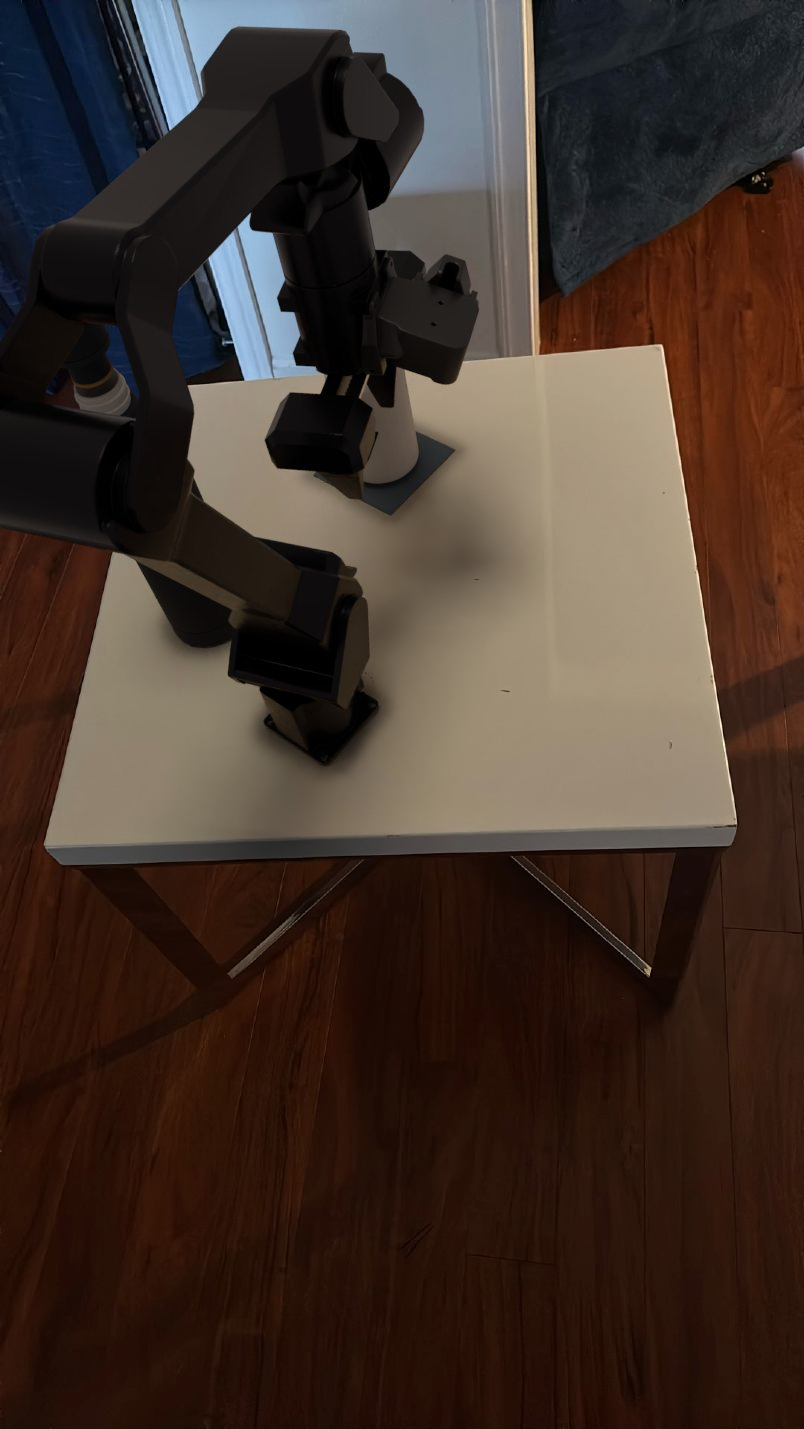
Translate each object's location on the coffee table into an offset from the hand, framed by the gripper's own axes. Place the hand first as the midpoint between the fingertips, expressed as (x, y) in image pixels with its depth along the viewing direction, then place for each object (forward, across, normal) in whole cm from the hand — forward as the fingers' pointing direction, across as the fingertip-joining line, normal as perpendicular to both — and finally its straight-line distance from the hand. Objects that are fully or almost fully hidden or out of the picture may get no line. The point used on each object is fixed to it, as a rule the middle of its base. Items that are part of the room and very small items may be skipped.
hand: (372, 450), depth 75 cm
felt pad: (+12, +11, +4) cm, 17 cm away
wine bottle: (+12, -8, +14) cm, 20 cm away
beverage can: (+12, +10, +4) cm, 16 cm away
